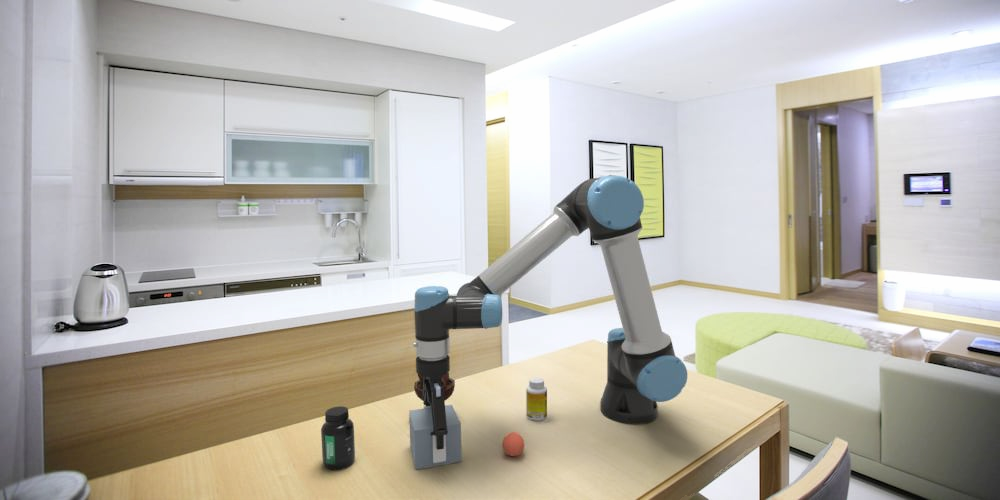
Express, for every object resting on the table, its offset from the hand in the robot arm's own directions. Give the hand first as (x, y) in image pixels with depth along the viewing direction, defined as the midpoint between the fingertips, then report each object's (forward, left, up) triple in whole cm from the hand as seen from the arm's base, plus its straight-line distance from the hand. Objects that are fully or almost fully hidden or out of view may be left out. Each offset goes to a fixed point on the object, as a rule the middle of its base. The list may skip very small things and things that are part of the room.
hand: (434, 445), depth 107 cm
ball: (-17, +6, +1) cm, 18 cm away
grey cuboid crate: (0, 0, -2) cm, 2 cm away
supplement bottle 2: (-29, -10, -2) cm, 31 cm away
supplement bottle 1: (+21, -3, -2) cm, 21 cm away
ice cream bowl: (-3, -18, -2) cm, 18 cm away
